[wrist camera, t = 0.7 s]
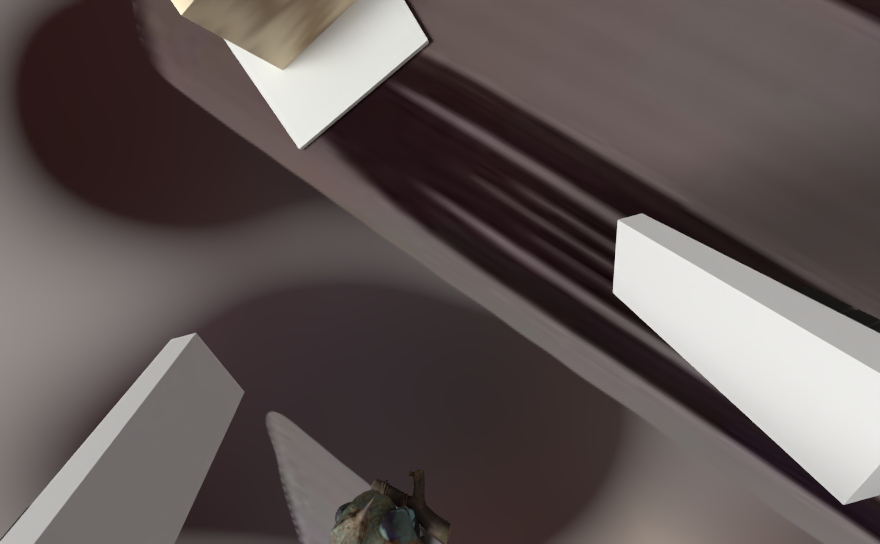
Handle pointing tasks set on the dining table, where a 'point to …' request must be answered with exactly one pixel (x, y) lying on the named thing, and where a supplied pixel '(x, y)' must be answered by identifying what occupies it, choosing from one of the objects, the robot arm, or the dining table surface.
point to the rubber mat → (337, 66)
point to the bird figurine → (388, 517)
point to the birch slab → (265, 23)
